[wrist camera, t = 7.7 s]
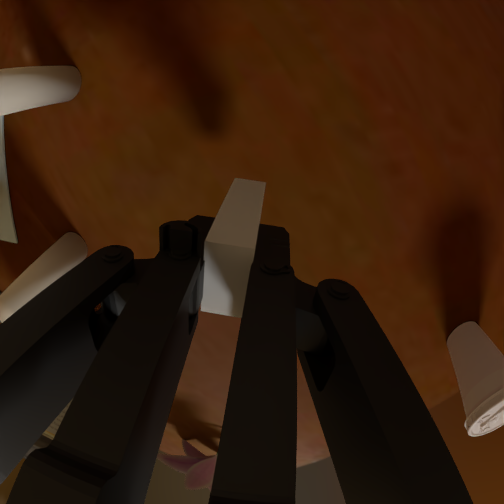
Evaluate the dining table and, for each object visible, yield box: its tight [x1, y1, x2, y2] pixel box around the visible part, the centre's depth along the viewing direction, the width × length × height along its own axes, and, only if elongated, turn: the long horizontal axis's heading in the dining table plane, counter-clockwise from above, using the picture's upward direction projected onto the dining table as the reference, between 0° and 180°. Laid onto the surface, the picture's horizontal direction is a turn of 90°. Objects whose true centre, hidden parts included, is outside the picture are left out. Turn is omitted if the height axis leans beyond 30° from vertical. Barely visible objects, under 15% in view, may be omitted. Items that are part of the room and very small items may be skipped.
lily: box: [157, 439, 218, 491], centre depth 32 cm, size 12×12×10 cm
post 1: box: [0, 66, 81, 116], centre depth 12 cm, size 3×3×9 cm
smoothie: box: [447, 321, 504, 436], centre depth 18 cm, size 6×6×14 cm
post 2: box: [0, 232, 87, 323], centre depth 18 cm, size 3×3×9 cm
